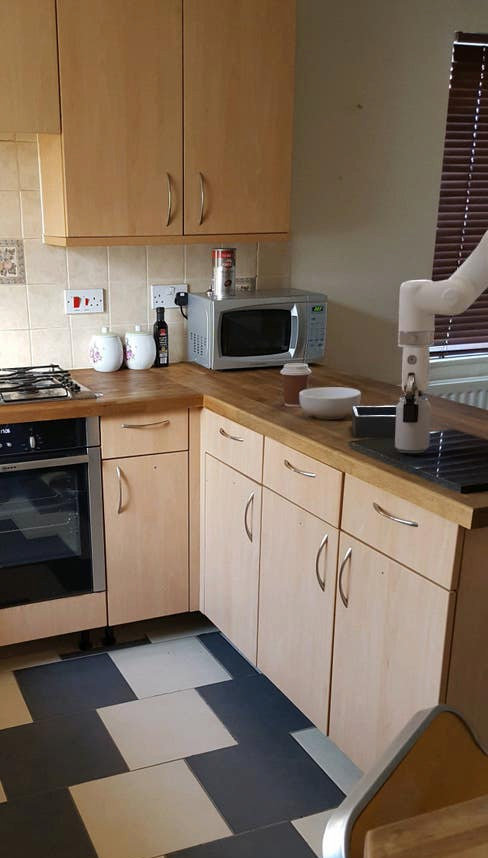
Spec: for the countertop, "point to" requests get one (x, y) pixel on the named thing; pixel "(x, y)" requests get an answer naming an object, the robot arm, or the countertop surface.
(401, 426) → the can
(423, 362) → the robot arm
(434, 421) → the countertop surface
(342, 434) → the countertop surface
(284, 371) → the coffee cup
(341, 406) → the cereal bowl
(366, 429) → the tote
